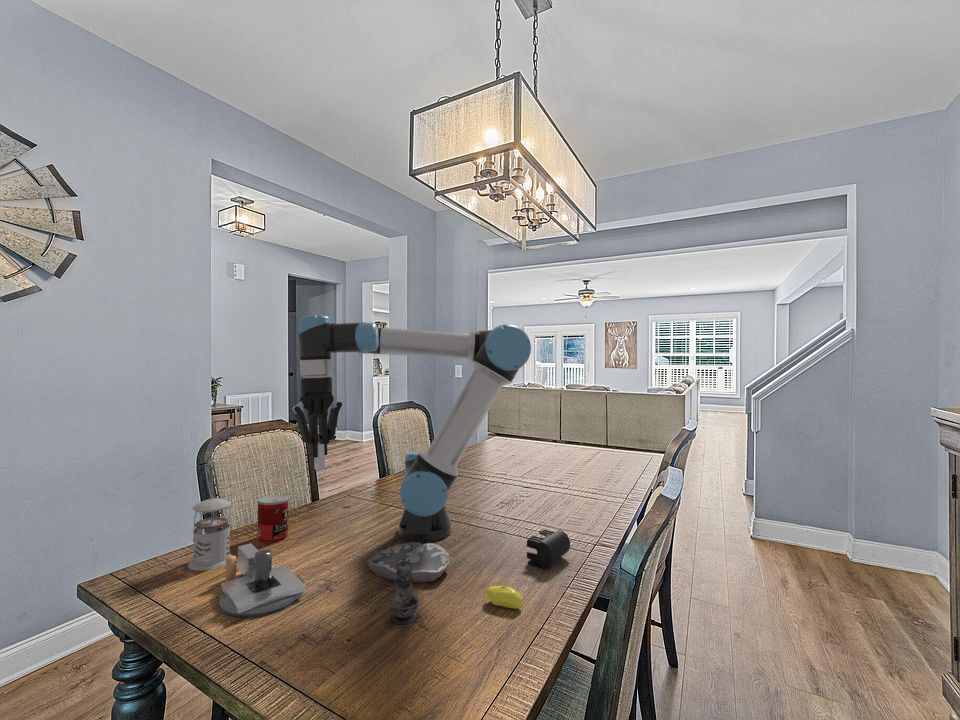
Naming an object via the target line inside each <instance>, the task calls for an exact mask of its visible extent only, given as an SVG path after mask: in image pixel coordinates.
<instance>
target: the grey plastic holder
mask: <svg viewBox="0 0 960 720" xmlns="http://www.w3.org/2000/svg"><path fill="white" fill-rule="evenodd" d="M259 551H260V550H258V549H257V547H255V545H253V543H251V542H250V543H247V544H242V545H238V547H237V569H238V570H239V572H240V573H241V574H242V575H243V576H241V577H236V579H233V580H230V581H226V580H225V581H224V582H223V581H222V582H220V589H221V590H222V593H223V592H224V593H225V595H226V596H227V598H228V599H229V601H230V603H231V604H232V606H233V607H234V609H235V610H236V612H237V613H241V612H244V611H247V610H250V609H253V608H256V607H259V606H262V605H265V604H268V603H271V602H274V601H277V600H280V599H283V598H286V597H289V596H292V595H294V594H297V593H300V592H303V591H304V592H306V591H307V585H306V584H305V582H304V583H303V582H302V581H301V580H300V579H299V578H298V577H297V576H296V575H297V574H295V573H294V572H293V571H292V570H291V569H290V568H288V566H286V565H285V564H283V565H282V564H281V565H278V566H275V567H272V580H273V581H274V582H275V583H276V584H277V585H278V586H277V587H274V588H271V589H268V590H264V591H261V592H258V593H255V594H252V592H251V591H250V590H249V587H252V586H255V553H257V552H259ZM304 592H303V593H304Z"/></svg>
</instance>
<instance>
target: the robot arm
mask: <svg viewBox="0 0 960 720" xmlns="http://www.w3.org/2000/svg"><path fill="white" fill-rule="evenodd" d="M297 335H298V345H299V349H298V350H299V370H300V371H299V373H300V376H301V377H302V378H301V379H300V393H301V396H300V398H299V402H298V403H297V404H296V405H292V406H291V407H290V410H291V412H292V413H293V414H294V416H295V420H296V422H297V427H298V431H299V433H300V436H301V438H300V439H301V440H302V442H303V443H305V444H309V446H310V457H311V458H312V459H313V464H314V466H313V467H314V470H315V471H324V470H325V471H326V463H325V462H326V461H325V460H326V458H325V457H327V456H328V444H329V443H330V441H331V440H335V435H336V430H337V425H338V418H339V415H340V410H341V408H342V407H343V402H341V401H338V400H336V399H335V398H334V395H333V393H332V392H333V378H332V377H331V375H332V374H333V371H332V353H335V354H336V353H359V354H365V355H367V354H372V355H373V354H375V355H388V356H389V355H391V356H407V357H423V358H438V359H452V360H453V359H454V360H466V361H469V363H470V364H473V365H472V366H473V372H471V374H470V377H469V379H468V380H467V382H466V383H465V385H464V387H463V389H462V390H461V392H460V394H459V396H458V397H457V399H456V400H455V402H454V404H453V406H452V407H451V410H449V412H448V414H447V416H446V418H445V420H444V421H443V423H442V424H441V426H440V428H439V430H438V432H437V433H436V435H435V437H434V438H433V440H432V442H431V444H430V445H429V447H428V448H427V449H423V450H421V451H417V452H416V451H415V452H409V453H407V454H405V459H404V462H403V463H404V476H403V479H402V482H401V485H400V487H399V488H400V489H399V494H400V500H401V503H402V505H403V511H402V513H401V516H400V517H401V518H400V520H399V523H398V535H399V537H400V538H402V539H403V540H407V541H409V542H418V543H424V542H426V543H428V542H433V541H434V542H435V541H439V540H442V539H445V538H447V537H448V536H449V535H450V534H451V532H452V522H451V519H450V516H449V513H448V510H447V506H446V503H447V499H448V497H449V496H448V495H449V491H450V489H451V488H452V487H453V484H454V483H455V481H456V480H457V477H458V476H459V471H458V464H459V462H460V460H461V459H462V457H463V455H464V453H465V452H466V451H467V448H468V447H469V445H470V443H471V442H472V440H473V438H474V436H475V434H476V432H477V431H478V429H479V428H480V426H481V424H482V422H483V420H484V419H485V417H486V416H487V414H488V412H489V410H490V409H491V407H492V405H493V403H494V402H495V400H496V398H497V396H498V394H499V393H500V391H501V390H502V387H504V386H507V385H510V384H511V383H512V382H513V380H514V379H515V377H516V375H517V373H518V372H519V370H520V369H521V368H523V366H524V365H525V364H526V363H527V362H528V361H529V358H530V355H531V352H532V344H531V340H530V338H529V335H528V334H527V333H526V332H525V331H524V330H523V328H520V327H519V326H516V325H514V324H508V323H507V324H505V323H504V324H500V325H498V326H496V327H494V328H493V329H490V330H472V331H471V332H469V333H462V332H449V331H448V332H447V331H435V330H433V331H432V330H418V329H417V330H415V329H405V328H403V329H401V328H389V327H388V328H387V327H378V325H377V324H376V323H375V322H365V321H361V322H347V323H346V322H344V323H343V322H342V323H332V322H331V320H330V317H329V316H327V315H304V316H301V317H300V318H299V320H298V334H297ZM329 409H330V411H328V410H329ZM304 410H305V411H306V412H307V413H306V414H307V417H308V423H307V420H306V416H305V414H304ZM328 413H329V414H328Z"/></svg>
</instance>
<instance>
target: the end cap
mask: <svg viewBox="0 0 960 720" xmlns="http://www.w3.org/2000/svg"><path fill="white" fill-rule="evenodd" d="M539 535H541V536H544V537H540V536H537V535H536V536H535V535H532V536H531V537H529V538H527V539H526V547H527V548H529V549H533V550H535V551H536V553H533V552H530V551H526V559H528V561H527V565H528V566H531V567H534V568H538V569H540V570H544V569H546V568H548V567H549V566H550V565H552V564H553V563H555V562H556V561H557V560H559V559H560V558H562V557H563V556H565V554H566V553H568V552H569V551H570V548H571V540H570V538H569V536H568V534H567V533H566V532H565V531H563V530H561V529H558V530H557V531H552V530H548V529H542V530H540V531H539Z"/></svg>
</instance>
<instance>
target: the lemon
mask: <svg viewBox="0 0 960 720" xmlns="http://www.w3.org/2000/svg"><path fill="white" fill-rule="evenodd" d="M484 592H485V593H484V594H485V597H486V598H487V599H489V601H490V602H491V603H492V604H493V605H494V606H497V607H498V606H499V607H503V608H507V609H512V610H517V609H519V608H521V607H522V605H523V601H524V600H523V596H522V595H521V594H520V593H519V592H518V591H517V589H514V588H512V587H509V586H506V585H494V586H493V585H492V586H489V587H487V588H486V590H485V591H484Z"/></svg>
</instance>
